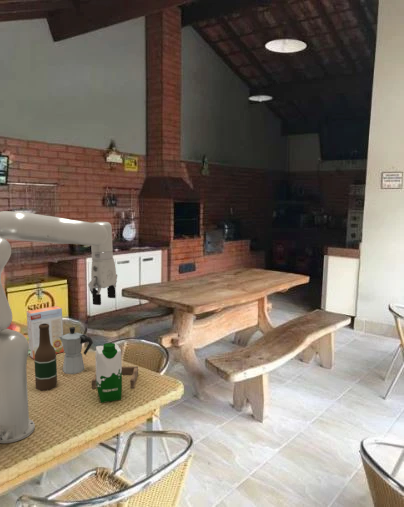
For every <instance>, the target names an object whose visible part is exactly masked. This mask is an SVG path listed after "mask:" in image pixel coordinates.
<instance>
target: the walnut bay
mask: <svg viewBox="0 0 404 507" xmlns="http://www.w3.org/2000/svg"><path fill="white" fill-rule="evenodd" d="M138 375H139V367H138V366H136V365H135V366H122V376H131V377H130V381H129V385H130V387H129V388H130V389H135V385H136V381H137V378H138ZM91 389H97V385H96V373H95V374H94V376H93V378H92V380H91Z"/></svg>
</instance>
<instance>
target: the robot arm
mask: <svg viewBox="0 0 404 507" xmlns="http://www.w3.org/2000/svg"><path fill="white" fill-rule="evenodd" d="M8 240H12V241H13V240H15V241H23V242H35V243H46V244H47V243H48V244H56V245H58V244H59V245H64V244H67V245H69V244H70V245H82V246H83V245H84V246H91V268H90V269H91V270H90V271H91V272H90V274H91V275H90V278H91V279H90V282H89V283H88V284H87V285H88V288H89V291H90V294H91V295H92V305H96V306H101V305H102V295H101V291H102V289H106V288H107V290H106V291H107V298H109V299H116V298H117V295H116V294H117V293H116V287H117V282H118V280H117V279H118V274H117V270H116V262H115V259H114V254H113V251H114V250H113V229H112V224H111V223H110V222H108V221H95V222H88V221H83V220H75V219H69V218H65V217H58V216H51V215H43V214H37V213H31V212H26V211H12V210H11V211H10V210H9V211H8V210H3V211H0V444H9V443H14V442H18V441H21V440H23V439H26V438H27V437H29V436H30V435H31V434H32V433H33V432H34V431H35V426H36V424H35V422H34V420H32V419H30V418H29V417H30V416H29V413H30V412H29V396H28V394H29V393H28V392H29V391H28V377H27V374H28V373H27V364H28V362H27V361H28V357H29V342H28V339H27V337H26V336H25V335H24V334H22V333H21V332H19V331H17V330H13V329H9V327H10V326H11V324H12V322H13V311H12V309H11V308H12V307H11V306H10V303H9V300H8V298H7V295H6V293H5V290H4V287H3V284H2V278H1V277H2V273H3V270H4V268H5V266H6V265H7V263H8V261H9V260H10V259H11V258H10V257H11V256H12V255H11V254H12V247H11V243H10V242H9V241H8Z"/></svg>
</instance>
